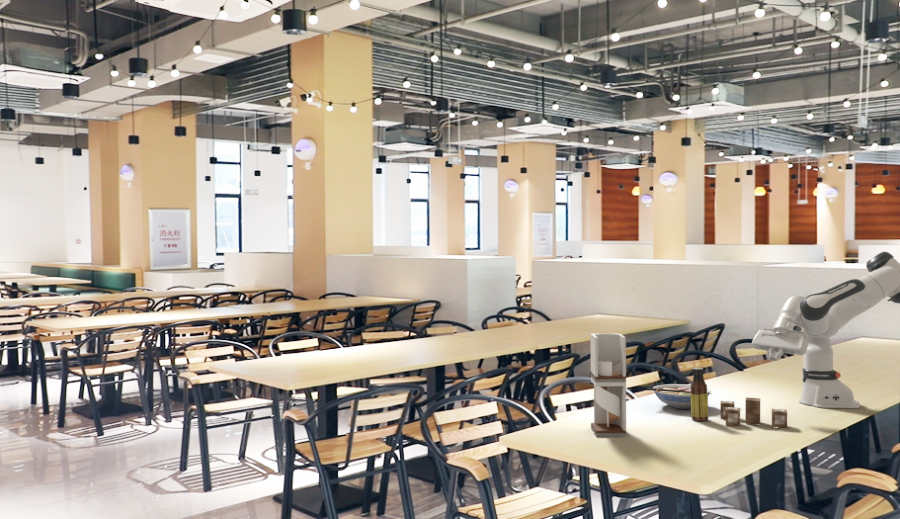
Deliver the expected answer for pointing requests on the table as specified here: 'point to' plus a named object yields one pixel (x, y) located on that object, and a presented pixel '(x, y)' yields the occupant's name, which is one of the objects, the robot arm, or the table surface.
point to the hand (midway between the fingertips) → (772, 359)
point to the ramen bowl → (675, 394)
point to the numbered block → (779, 418)
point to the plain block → (752, 411)
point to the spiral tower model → (609, 383)
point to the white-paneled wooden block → (732, 416)
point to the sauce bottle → (699, 396)
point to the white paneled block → (723, 407)
